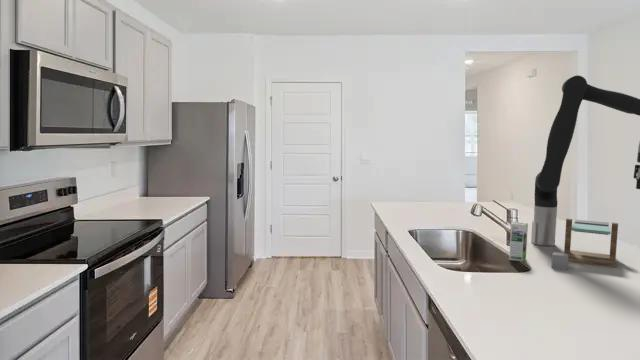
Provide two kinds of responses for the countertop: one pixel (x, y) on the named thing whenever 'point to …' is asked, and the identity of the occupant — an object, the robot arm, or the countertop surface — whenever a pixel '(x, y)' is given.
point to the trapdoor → (591, 227)
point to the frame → (588, 256)
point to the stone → (560, 260)
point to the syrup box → (518, 241)
